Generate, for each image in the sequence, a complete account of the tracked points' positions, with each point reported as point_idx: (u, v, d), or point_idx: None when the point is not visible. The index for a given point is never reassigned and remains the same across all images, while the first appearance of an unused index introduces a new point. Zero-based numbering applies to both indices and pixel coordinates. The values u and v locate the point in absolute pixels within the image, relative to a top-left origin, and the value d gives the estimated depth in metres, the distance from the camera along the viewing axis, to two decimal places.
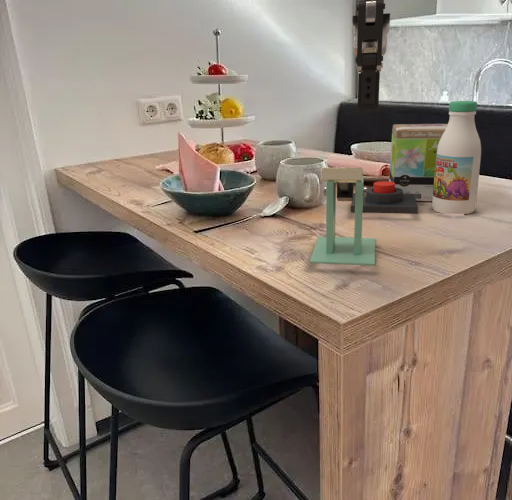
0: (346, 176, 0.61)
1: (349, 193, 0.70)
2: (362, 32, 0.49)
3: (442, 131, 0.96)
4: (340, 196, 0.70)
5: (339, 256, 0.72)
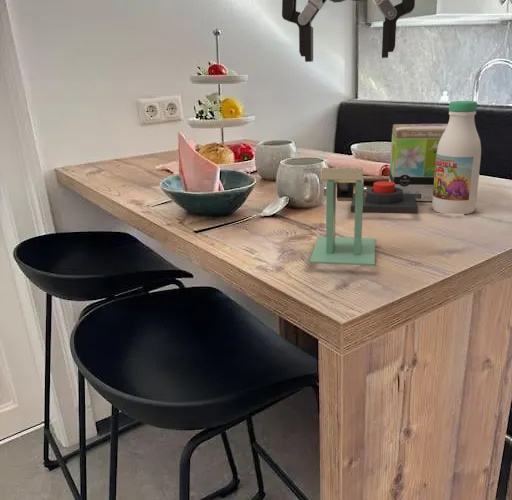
0: (346, 176, 0.61)
1: (349, 193, 0.70)
2: None
3: (442, 131, 0.96)
4: (340, 196, 0.70)
5: (339, 256, 0.72)
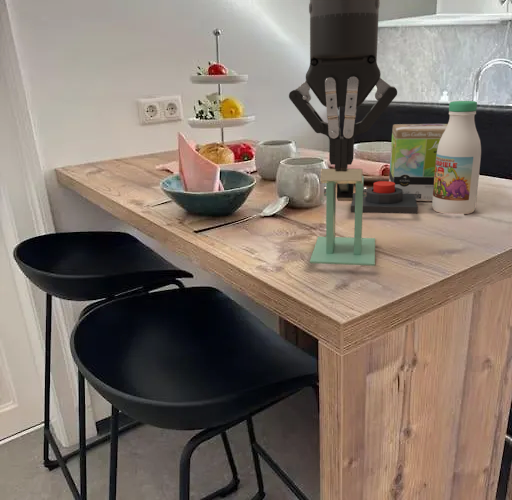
0: (346, 177, 0.61)
1: (349, 193, 0.70)
2: (382, 112, 0.57)
3: (442, 131, 0.96)
4: (340, 196, 0.70)
5: (339, 256, 0.72)
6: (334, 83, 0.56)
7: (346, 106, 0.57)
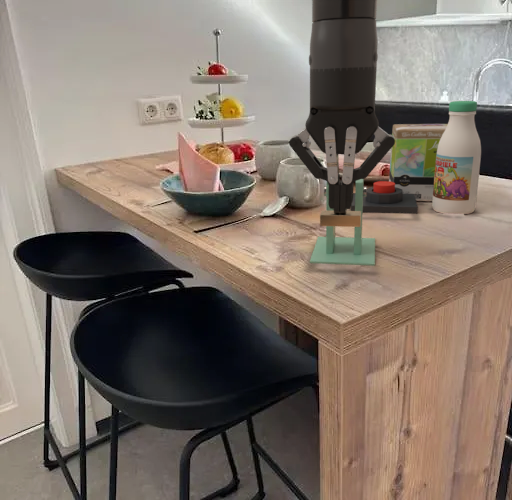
0: (345, 223, 0.62)
1: None
2: None
3: (442, 131, 0.96)
4: None
5: (339, 256, 0.72)
6: (333, 132, 0.58)
7: (345, 154, 0.59)
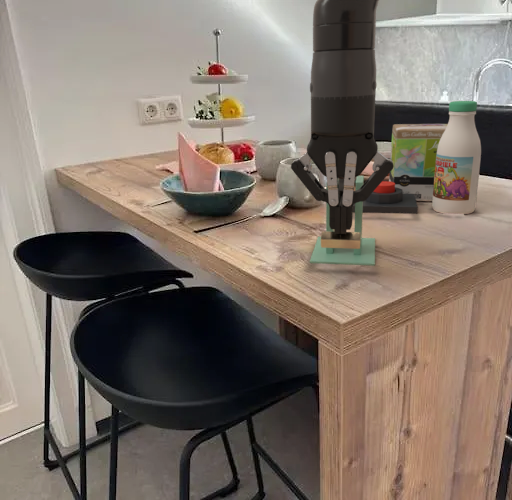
0: (345, 246, 0.64)
1: None
2: (379, 183, 0.61)
3: (442, 131, 0.96)
4: None
5: (339, 256, 0.72)
6: (334, 157, 0.60)
7: (345, 178, 0.60)
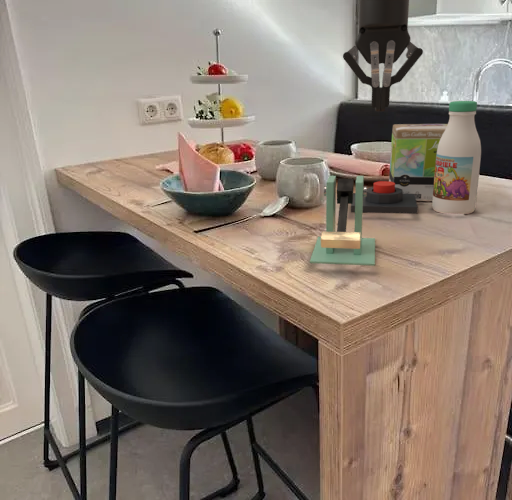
0: (345, 246, 0.64)
1: (349, 200, 0.71)
2: None
3: (442, 131, 0.96)
4: None
5: (339, 256, 0.72)
6: (377, 45, 0.78)
7: (385, 62, 0.79)
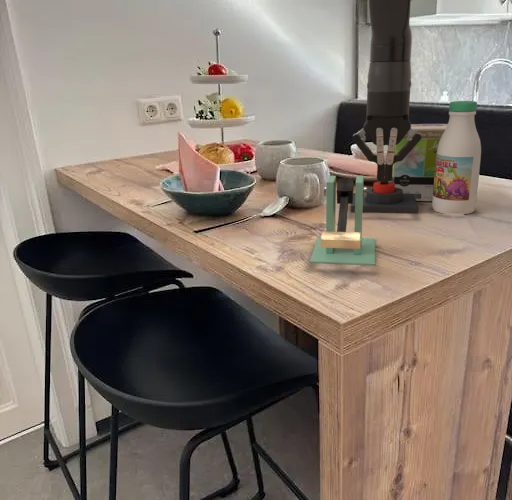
0: (345, 246, 0.64)
1: (349, 200, 0.71)
2: (411, 149, 0.92)
3: (442, 131, 0.96)
4: None
5: (339, 256, 0.72)
6: (382, 131, 0.91)
7: (389, 145, 0.92)
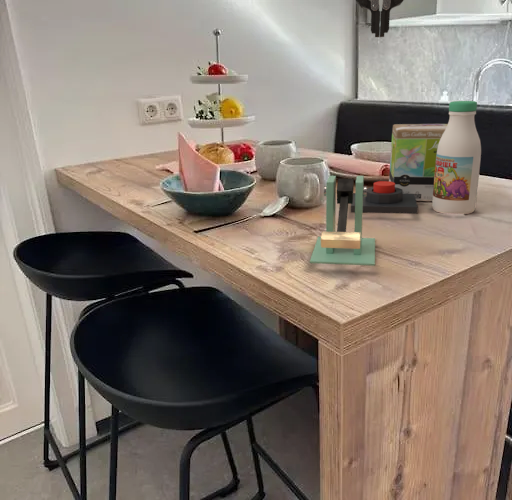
0: (345, 246, 0.64)
1: (349, 200, 0.71)
2: None
3: (442, 131, 0.96)
4: None
5: (339, 256, 0.72)
6: None
7: None
